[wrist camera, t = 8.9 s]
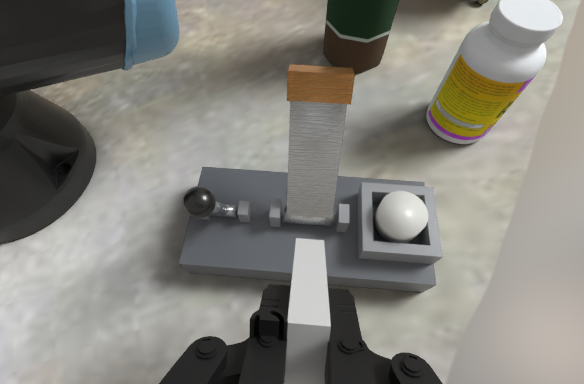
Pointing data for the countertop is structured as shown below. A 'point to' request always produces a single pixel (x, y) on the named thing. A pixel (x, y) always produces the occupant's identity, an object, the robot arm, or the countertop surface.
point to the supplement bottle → (492, 69)
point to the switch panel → (309, 233)
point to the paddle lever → (315, 140)
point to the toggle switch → (206, 204)
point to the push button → (400, 217)
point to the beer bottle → (357, 32)
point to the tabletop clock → (482, 1)
